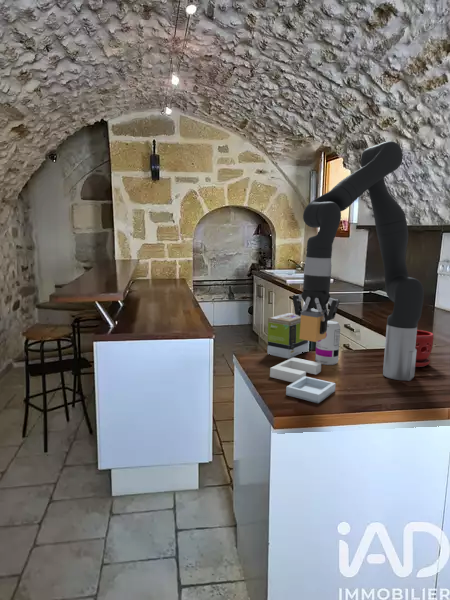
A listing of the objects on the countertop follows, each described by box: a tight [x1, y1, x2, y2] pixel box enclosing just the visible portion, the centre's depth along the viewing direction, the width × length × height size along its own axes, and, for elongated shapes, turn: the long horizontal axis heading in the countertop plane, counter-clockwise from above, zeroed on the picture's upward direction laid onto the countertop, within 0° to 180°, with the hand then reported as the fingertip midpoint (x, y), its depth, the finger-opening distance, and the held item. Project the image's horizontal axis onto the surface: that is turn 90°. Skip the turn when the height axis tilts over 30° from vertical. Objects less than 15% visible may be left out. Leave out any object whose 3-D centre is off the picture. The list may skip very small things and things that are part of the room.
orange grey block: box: [299, 308, 329, 343], centre depth 125 cm, size 5×7×8 cm
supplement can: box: [314, 319, 341, 366], centre depth 157 cm, size 8×8×15 cm
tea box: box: [266, 312, 309, 360], centre depth 168 cm, size 15×10×15 cm, turn 141°
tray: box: [285, 375, 336, 404], centre depth 126 cm, size 10×12×2 cm
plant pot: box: [415, 329, 434, 368], centre depth 158 cm, size 13×13×12 cm
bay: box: [269, 356, 322, 383], centre depth 143 cm, size 11×16×3 cm
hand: (313, 331), depth 125 cm, fingers closed on orange grey block, 5 cm apart
